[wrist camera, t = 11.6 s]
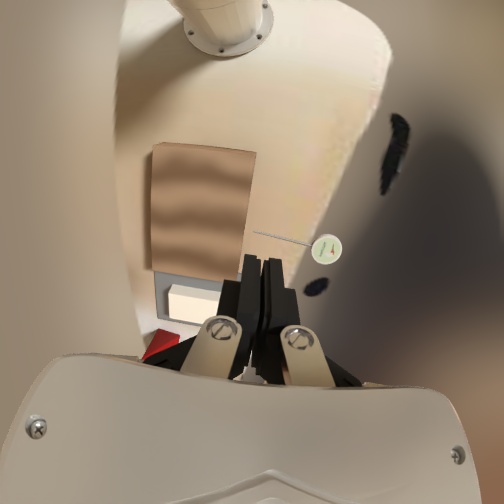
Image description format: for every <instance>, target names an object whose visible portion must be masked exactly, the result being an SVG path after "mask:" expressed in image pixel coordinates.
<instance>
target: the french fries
mask: <svg viewBox="0 0 504 504" xmlns="http://www.w3.org/2000/svg"><path fill="white" fill-rule="evenodd" d="M179 338H180V335H178V334H175V333H171V332H168V331H165V330H162V329H158V331H157V333H156V334H155V336H154V338H153V340H152V341H151V343H150V345H149V347H148V349H147V350H146V352H145V354H144V356H143V357H142V359H144V360H145V359H146V358H147V357H149V356H150V355H152V354H155V353H157V352H160V351H162V350H164V349H167V348H169V347H171V346H173V345H176V344H178V343H179Z"/></svg>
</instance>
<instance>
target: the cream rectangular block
mask: <svg viewBox="0 0 504 504" xmlns="http://www.w3.org/2000/svg"><path fill="white" fill-rule="evenodd" d="M168 295H169V317H170V318H172V319H177V320H182V321H188V322H193V323H199V324H203V323H204V322H205V320H207V319H208V318H210V317H213V316H216V313H217V309H218V304H219V299H220V295H221V292H217V291H211V290H205V289H198V288H192V287H187V286H181V285H175V284H172V287H171V289H170V291H169V293H168Z"/></svg>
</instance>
